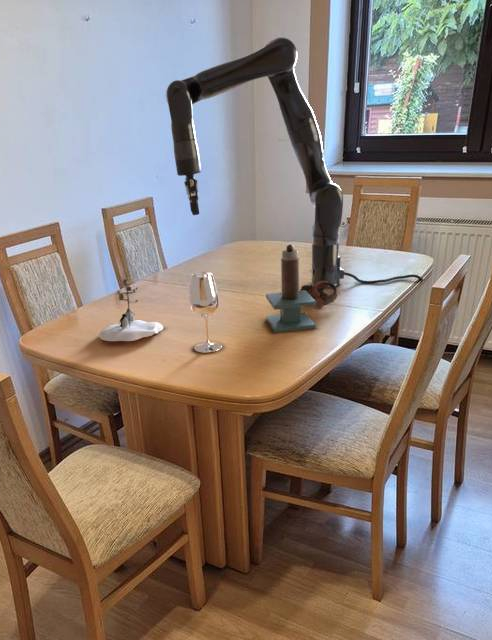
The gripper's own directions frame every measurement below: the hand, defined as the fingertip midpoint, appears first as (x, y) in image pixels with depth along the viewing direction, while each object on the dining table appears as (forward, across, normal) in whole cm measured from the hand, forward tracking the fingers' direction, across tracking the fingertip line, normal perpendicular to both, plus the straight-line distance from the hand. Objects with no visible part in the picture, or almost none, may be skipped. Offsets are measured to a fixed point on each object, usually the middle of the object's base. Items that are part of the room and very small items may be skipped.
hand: (195, 213), depth 186 cm
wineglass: (+30, -46, +4) cm, 55 cm away
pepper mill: (+23, -33, -22) cm, 46 cm away
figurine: (+28, -29, +25) cm, 48 cm away
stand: (+31, -33, -22) cm, 50 cm away
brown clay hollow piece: (+31, -16, -34) cm, 49 cm away
